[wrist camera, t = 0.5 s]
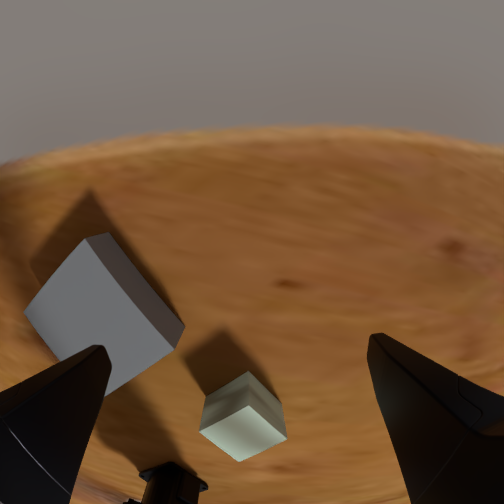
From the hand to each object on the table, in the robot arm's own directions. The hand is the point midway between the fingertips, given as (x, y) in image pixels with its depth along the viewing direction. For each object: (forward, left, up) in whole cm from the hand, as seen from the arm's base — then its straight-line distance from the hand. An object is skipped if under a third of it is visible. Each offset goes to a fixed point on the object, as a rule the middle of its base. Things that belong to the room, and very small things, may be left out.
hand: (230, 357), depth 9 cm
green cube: (-8, -10, -14) cm, 19 cm away
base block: (-12, +4, -14) cm, 19 cm away
